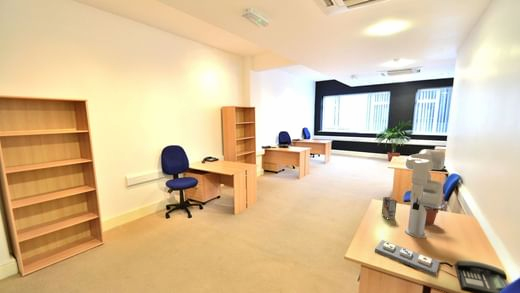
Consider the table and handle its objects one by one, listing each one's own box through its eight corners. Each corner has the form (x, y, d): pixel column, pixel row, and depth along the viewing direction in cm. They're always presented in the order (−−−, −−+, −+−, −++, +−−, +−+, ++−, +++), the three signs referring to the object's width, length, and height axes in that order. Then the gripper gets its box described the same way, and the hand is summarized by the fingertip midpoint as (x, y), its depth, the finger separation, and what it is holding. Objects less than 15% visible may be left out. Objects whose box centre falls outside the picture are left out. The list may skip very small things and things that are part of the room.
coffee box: (395, 219, 182) (397, 200, 180) (387, 219, 182) (389, 201, 179) (388, 214, 191) (389, 196, 189) (381, 214, 191) (382, 196, 188)
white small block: (401, 253, 136) (402, 247, 136) (412, 257, 132) (413, 251, 132) (399, 257, 132) (399, 251, 132) (410, 261, 128) (410, 255, 128)
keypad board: (382, 242, 148) (382, 239, 148) (439, 264, 127) (439, 261, 127) (374, 251, 138) (375, 248, 138) (435, 276, 117) (435, 272, 117)
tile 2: (385, 246, 143) (385, 241, 142) (395, 250, 139) (395, 245, 138) (382, 250, 139) (383, 245, 138) (392, 254, 135) (393, 248, 134)
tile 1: (419, 260, 130) (419, 254, 129) (431, 264, 126) (431, 258, 126) (417, 264, 126) (417, 258, 126) (429, 269, 122) (430, 263, 122)
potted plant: (417, 216, 189) (422, 176, 184) (439, 223, 177) (445, 181, 172) (409, 220, 181) (414, 179, 176) (431, 228, 168) (437, 184, 163)
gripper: (414, 177, 144) (411, 204, 146) (408, 182, 133) (405, 211, 136) (428, 179, 138) (425, 207, 141) (424, 185, 128) (420, 215, 131)
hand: (415, 209), depth 139 cm, fingers closed
